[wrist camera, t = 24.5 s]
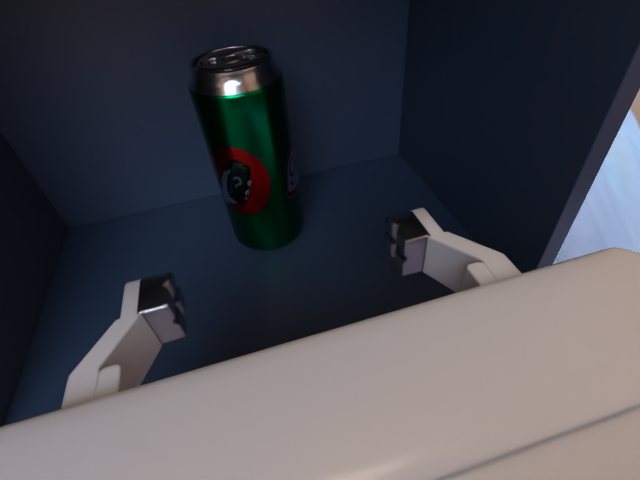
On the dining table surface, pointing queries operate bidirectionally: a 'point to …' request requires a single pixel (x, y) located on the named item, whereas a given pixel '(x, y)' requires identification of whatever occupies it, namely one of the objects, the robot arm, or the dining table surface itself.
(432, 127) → the cupboard
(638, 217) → the dining table surface
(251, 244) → the soda can
